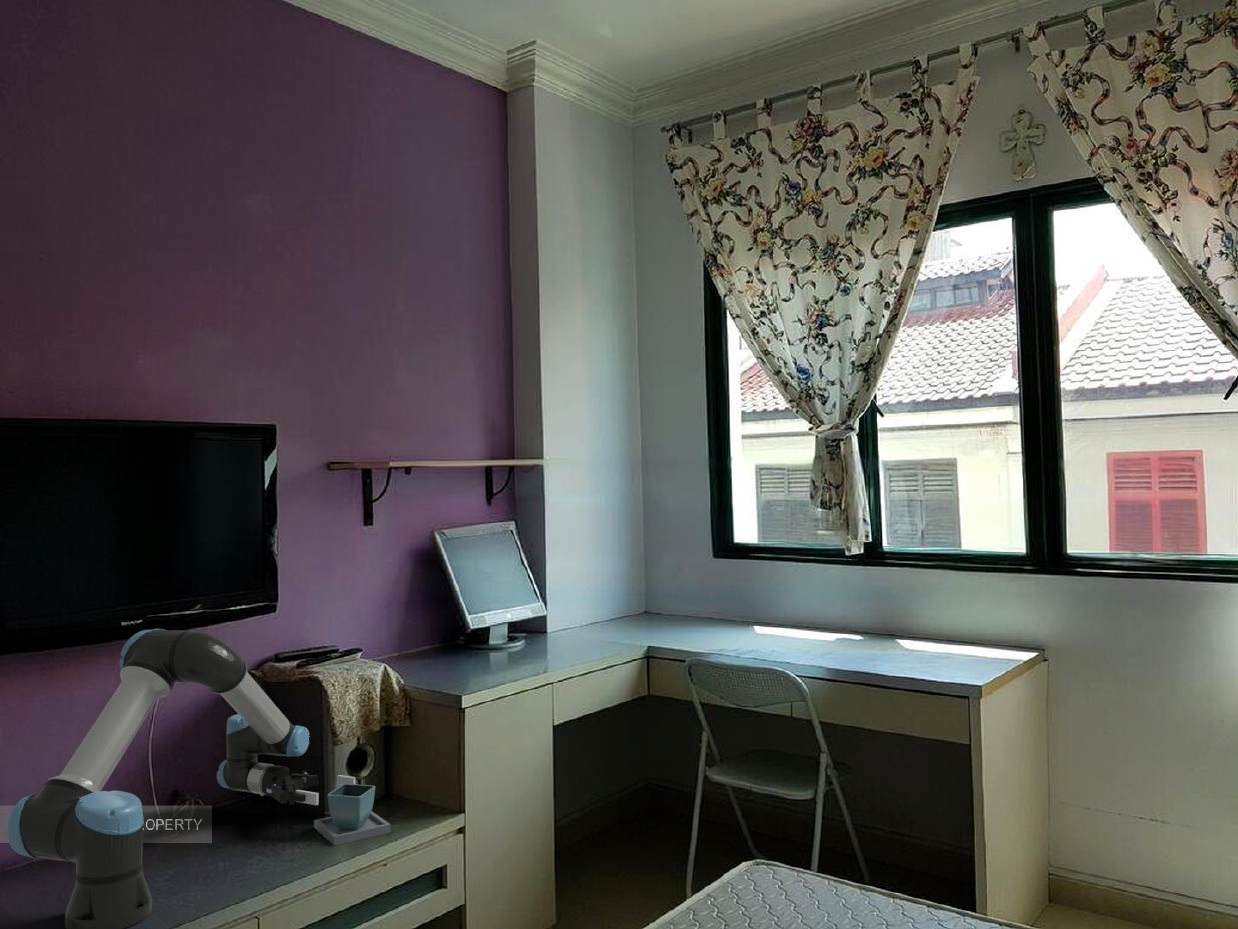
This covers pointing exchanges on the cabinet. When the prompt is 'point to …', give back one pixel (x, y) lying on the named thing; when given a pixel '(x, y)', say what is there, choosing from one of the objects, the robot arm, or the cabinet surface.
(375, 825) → the plant tray
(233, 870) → the cabinet surface
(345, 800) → the flower pot
